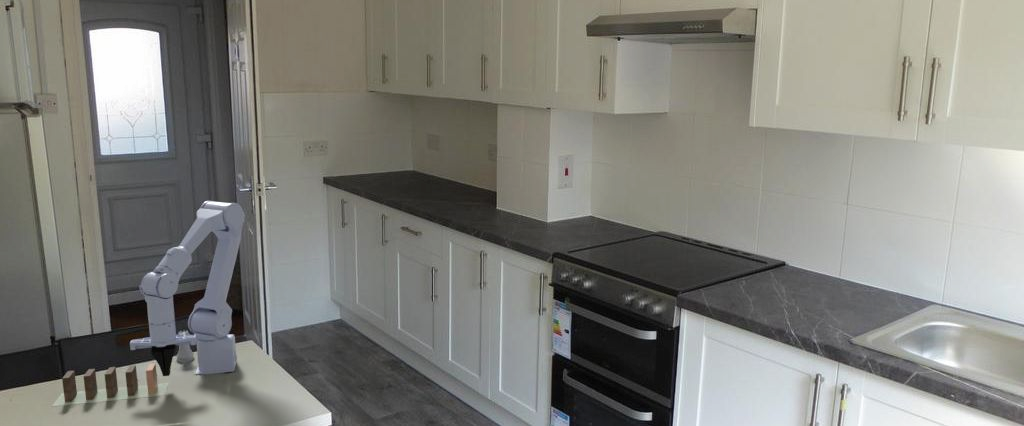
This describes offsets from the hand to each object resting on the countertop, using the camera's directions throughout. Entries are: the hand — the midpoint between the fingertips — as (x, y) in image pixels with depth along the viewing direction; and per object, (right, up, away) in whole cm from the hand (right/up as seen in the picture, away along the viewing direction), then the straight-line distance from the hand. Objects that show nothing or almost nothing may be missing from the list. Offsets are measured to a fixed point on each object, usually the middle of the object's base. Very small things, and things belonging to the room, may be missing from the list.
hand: (166, 374), depth 185 cm
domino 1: (-21, -5, -5) cm, 22 cm away
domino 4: (-8, -4, -1) cm, 9 cm away
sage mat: (-12, -5, -2) cm, 13 cm away
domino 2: (-16, -4, -3) cm, 17 cm away
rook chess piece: (-4, -1, +20) cm, 20 cm away
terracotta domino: (-3, -4, 0) cm, 5 cm away
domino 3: (-12, -4, -2) cm, 13 cm away
